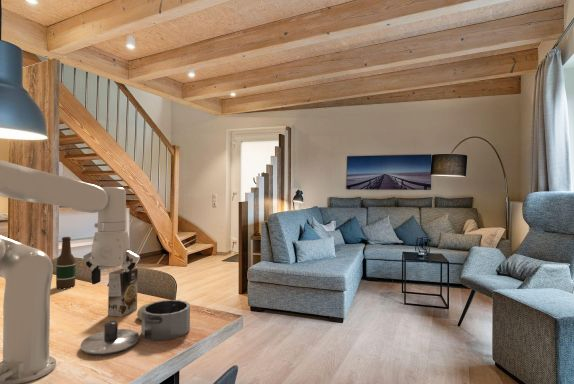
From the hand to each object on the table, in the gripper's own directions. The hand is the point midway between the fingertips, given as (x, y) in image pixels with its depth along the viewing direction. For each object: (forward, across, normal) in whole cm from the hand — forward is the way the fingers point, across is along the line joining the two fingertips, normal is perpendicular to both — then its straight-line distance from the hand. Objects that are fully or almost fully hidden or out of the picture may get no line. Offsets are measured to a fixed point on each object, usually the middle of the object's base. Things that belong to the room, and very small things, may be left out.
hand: (111, 283), depth 104 cm
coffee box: (+19, -12, +27) cm, 35 cm away
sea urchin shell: (+19, +1, +23) cm, 30 cm away
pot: (+19, +12, +12) cm, 25 cm away
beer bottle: (+19, -57, +56) cm, 82 cm away
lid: (+19, 0, 0) cm, 19 cm away
